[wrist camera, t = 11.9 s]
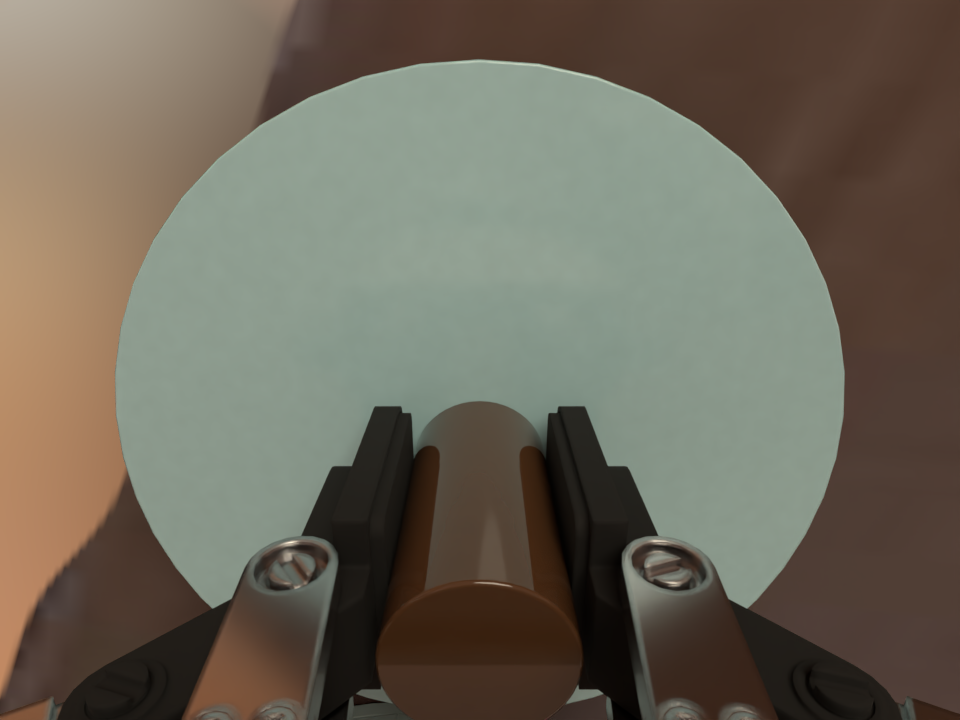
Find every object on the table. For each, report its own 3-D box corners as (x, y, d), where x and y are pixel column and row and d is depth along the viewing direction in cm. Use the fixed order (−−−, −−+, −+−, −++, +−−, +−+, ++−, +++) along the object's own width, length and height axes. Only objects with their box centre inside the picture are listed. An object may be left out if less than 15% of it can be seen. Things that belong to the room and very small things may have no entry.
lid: (891, 65, 11) (1390, -15, 5) (754, 676, 17) (911, 990, 11) (68, 66, 11) (-432, -14, 5) (205, 675, 17) (46, 989, 11)
